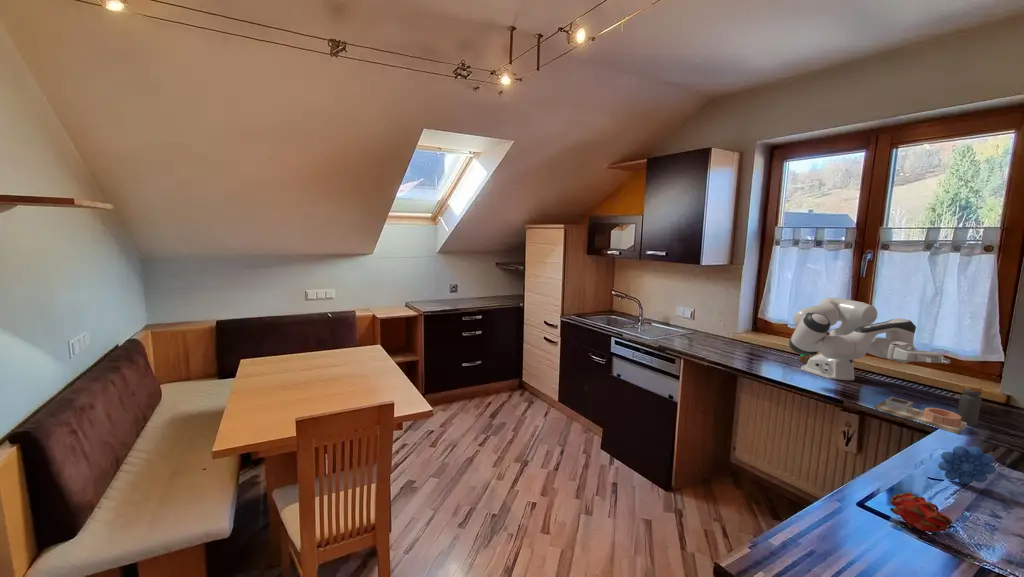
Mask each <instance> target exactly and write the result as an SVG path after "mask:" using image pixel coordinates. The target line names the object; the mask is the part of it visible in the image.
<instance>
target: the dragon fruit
mask: <svg viewBox="0 0 1024 577" xmlns="http://www.w3.org/2000/svg"><path fill="white" fill-rule="evenodd" d="M889 503H890V504H891V505H892V506H893V507H891V508H890V509H889V510H890V511H891V513H892V514H894V515H896V516H900V518H901V519H902V521H903V520H904V521H905V522H904V523H906V526H907V528H908V527H909V529H912V528H916V529H917V530H920V531H921V532H923V531H929V532H934V533H935V532H936V533H935V534H937V532H946V530H949V529H954V528H955V525H953V524H955V523H954V522H953V520H952V519H951V518H950V517H949V516H948V515H946V514H944V513H942V512H940V511H939V509H940V508H939V507H938V505H937V504H934V503H933V502H932V501H926V498H925V497H923V496H917V495H916V494H913V493H912V492H910V491H906V492H905V493H903V492H899V493H898V494H893V496H892V498H889Z"/></svg>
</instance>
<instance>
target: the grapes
mask: <svg viewBox="0 0 1024 577" xmlns="http://www.w3.org/2000/svg"><path fill="white" fill-rule="evenodd" d="M940 457H941V459H942V461H939V462H938V464H937V467H938V469H939V470H940V471H943V472H944V477H945V478H946V479H947V480H949V481H956V480H957V481H958V482H959V483H960V484H961V483H963V484H962V485H964V484H967V486H968V485H972V483H973V482H976V483H980V484H982V483H985V482H987V481H988V479H989V478H988V476H989V475H990V476H991V475H994V474H995V473H996V472H997V467H996V466H995V465H994V464H993V463H994V462H995V458H994V456H993V455H992V454H990V453H984V452H983V449H982V448H980V447H978V446H971V447H968V448H966V446H962V445H956V446H954V447H953V449H952V451H949V450H948V451H944V452H942V454H941V455H940Z"/></svg>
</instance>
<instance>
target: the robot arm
mask: <svg viewBox="0 0 1024 577" xmlns="http://www.w3.org/2000/svg"><path fill="white" fill-rule="evenodd" d="M877 318H878V310H877V308H876V307H875V306H874V305H872V304H869V303H866V302H862V301H857V300H854V299H846V298H840V297H826V298H822V300H821V301H820V303H819V304H817V305H811V306H807V307H805V308H803V309H799V310H797V311H796V312H795V313H794V315H793V318H792V320H793V324H794V326H795V327H796V328H795V329H794V332H793V333H792V335H791V336H790V338H789V341H788V347H789V348H790V349H791V350H792V351H793V352H794V353H797V354H799V355H800V354H803V355H809V354H811V355H814V356H813V357H811V358H810V359H809V360H808V362H807V364H803V365H801V367H800V370H802V371H804V372H806V373H807V372H808V373H810V374H813V375H816V376H820V377H823V378H825V379H829V380H841V381H854V380H856V379H855V371H854V362H855V361H856V360H859V359H861V358H863V357H864V356H866V354H869V355H873V356H875V357H877V358H882V359H887V360H890V361H893V362H897V363H898V362H899V363H902V364H908V363H912V362H918V363H919V362H920V363H928V364H929V363H931V364H932V363H934V364H935V363H937V364H947V365H948V364H951V360H950V359H949V358H945V356H944V355H943V354H941V353H937V352H933V351H928V350H927V351H926V350H917V348H915V347H914V340H915V339H914V338H915V334H916V330H917V326H916V325H915V324H914V323H913V322H912V321H911V320H909V319H906V318H892V319H889V320H887V321H882V322H881V321H880V322H878V323H876V322H875V321H876V320H877ZM838 322H841V324H840V325H839V327H836V328H834V329H832V330H831V331H830V332H829V330H830V328H831V327H834V326H835V325H836V324H837V323H838ZM874 322H875V323H874ZM827 333H829V334H827ZM881 334H885V337H880V336H878V335H881Z"/></svg>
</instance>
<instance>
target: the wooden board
mask: <svg viewBox="0 0 1024 577" xmlns="http://www.w3.org/2000/svg"><path fill="white" fill-rule="evenodd" d="M885 401H886V399H885V400H883V401H881V402H879V403H878V404H875V405H874V408H875V409H878V410H881V411H880V412H882V411H884V412H883V413H885V412H887V413H886V414H888V413H889V415H892V416H895V417H899V418H902V419H905V418H906V419H905V420H909V419H910V420H909V421H912V420H915V421H919V422H922V423H925V424H929V425H932V426H935V427H934V428H936V427H937V428H936V429H939V430H943V431H947V432H949V433H953V434H956V435H959V434H960V433H961V432H962V431H963V430H965V428H967V426H968V425H967V423H965V422H962V421H961V423H960V425H959V426H947V425H942V424H938V423H935V422H932V421H930V420H927V419H925V418H924V417H923V415H924V410H923V409H917V408H914V407H912V410H911V411H909V412H908V413H904V412H901V411H897V410H894V409H890V408H887V407H885ZM875 409H874V410H875ZM878 410H877V411H878ZM915 421H914V422H915ZM919 422H918V423H919ZM922 423H921V424H922ZM925 424H924V425H925ZM929 425H928V426H929ZM932 426H931V427H932Z"/></svg>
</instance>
